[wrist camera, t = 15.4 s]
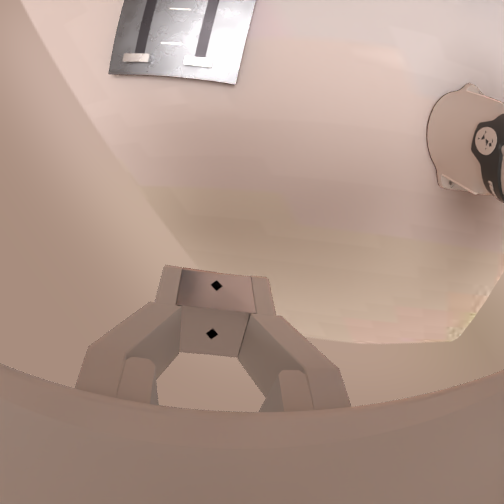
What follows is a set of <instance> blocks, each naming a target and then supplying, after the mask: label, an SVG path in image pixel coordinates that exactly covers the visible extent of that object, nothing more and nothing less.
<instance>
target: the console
mask: <svg viewBox="0 0 504 504" xmlns="http://www.w3.org/2000/svg"><path fill="white" fill-rule="evenodd" d="M255 2H256V0H124V4H123V7H122V11H121V15H120V19H119V23H118V27H117V31H116V36H115V41H114V46H113V51H112V56H111V62H110V67H109V74H132V75H156V76H171V77H182V78H192V79H201V80H209V81H216V82H223V83H229V84H236V80H237V76H238V71H239V67H240V62H241V58H242V54H243V50H244V45H245V41H246V37H247V33H248V29H249V25H250V21H251V17H252V13H253V10H254V6H255Z"/></svg>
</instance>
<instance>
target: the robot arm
mask: <svg viewBox="0 0 504 504" xmlns="http://www.w3.org/2000/svg"><path fill="white" fill-rule="evenodd" d="M427 140H428V148H429V152H430V156H431V158H432V160H433V162H434V164H435V167H436V169H437V178H438V184H439V186H440V187H442V188H445V189H452V190H460V191H468V192H471V193H473V194H475V195H477V194H483V195H493V196H494V197H495V198H496V199H498V200H499V201H501V202H503V203H504V103H503V102H501V101H498V100H496V99H493V98H490V97H487V96H484V95H483V94H482V92H481V91H480V90H479V89H478V88H477V87H476V86H475V85H473V84H471V83H468V84H466V85H465V86H464V87H463V88H462V89H461V90H459V91H454V92H450V93H448V94H446V95H444V96H443V97H442V98H441V99H440V100H439V101H438V102H437V103H436V105H435V107H434V109H433V111H432V113H431V116H430V119H429V123H428V131H427ZM449 181H450V182H449ZM179 352H185V353H197V354H210V355H218V356H228V357H238V360H239V361H240V363H241V364H242V366H243V367H244V369H245V370H246V371H247V373H248V374H249V376H250V377H251V378H252V380H253V381H254V382H255V384H256V385H257V387H258V388H259V389H260V391H261V392H262V393H263V395H264V396H265V397H266V399H265V401H264V403H263V405H262V406H261V408H260V410H259V412H230V411H210V410H198V409H187V408H177V407H169V406H161V405H159V404H158V395H157V383H156V380H157V378H158V377H159V376H160V375H161V374H162V373H163V371H164V370H165V369H166V368H167V367H168V366H169V365H170V363H171V362H172V361H173V360H174V359H175V358H176V357H177V355H178V354H179ZM0 504H504V370H501V371H499V372H496V373H493V374H491V375H488V376H485V377H482V378H479V379H476V380H473V381H470V382H467V383H463V384H460V385H457V386H453V387H450V388H446V389H442V390H438V391H434V392H430V393H426V394H422V395H417V396H413V397H408V398H403V399H398V400H392V401H387V402H381V403H374V404H368V405H361V406H354V407H351V404H350V401H349V397H348V394H347V391H346V388H345V385H344V382H343V379H342V376H341V373H340V370H339V368H338V367H337V366H336V365H335V364H333V363H332V362H331V361H330V360H329V359H328V358H327V357H326V356H325V355H323V354H322V353H321V352H320V351H319V350H318V349H317V348H316V347H315V346H314V345H312V344H311V343H310V342H309V341H308V340H307V339H306V338H305V337H304V336H303V335H302V334H300V333H299V332H298V331H297V330H296V329H295V328H294V327H293V326H292V325H291V324H290V323H288V322H287V321H286V320H285V319H284V318H283V317H282V316H276V311H275V307H274V302H273V297H272V293H271V288H270V284H269V279H268V278H267V277H259V276H242V275H233V274H224V273H217V272H211V271H204V270H197V269H191V268H184V267H183V268H182V267H176V266H169V265H165V266H164V268H163V272H162V276H161V279H160V283H159V287H158V291H157V295H156V299H155V302H149V303H147V304H146V305H144V306H143V307H142V308H140V309H139V310H137V311H136V312H135V313H133V314H132V315H131V316H129V317H128V318H126V319H125V320H124V321H122V322H121V323H120V324H118V325H117V326H116V327H114V328H113V329H111V330H110V331H109V332H107V333H106V334H105V335H103V336H102V337H101V338H99V339H98V340H97V341H95V342H94V343H92V344H91V345H90V346H89V347H88V349H87V352H86V355H85V358H84V361H83V364H82V367H81V370H80V373H79V376H78V379H77V383H76V386H75V388H72V387H68V386H65V385H61V384H58V383H54V382H51V381H48V380H45V379H41V378H39V377H36V376H32V375H30V374H27V373H24V372H21V371H18V370H16V369H14V368H11V367H8V366H6V365H3V364H1V363H0Z"/></svg>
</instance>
